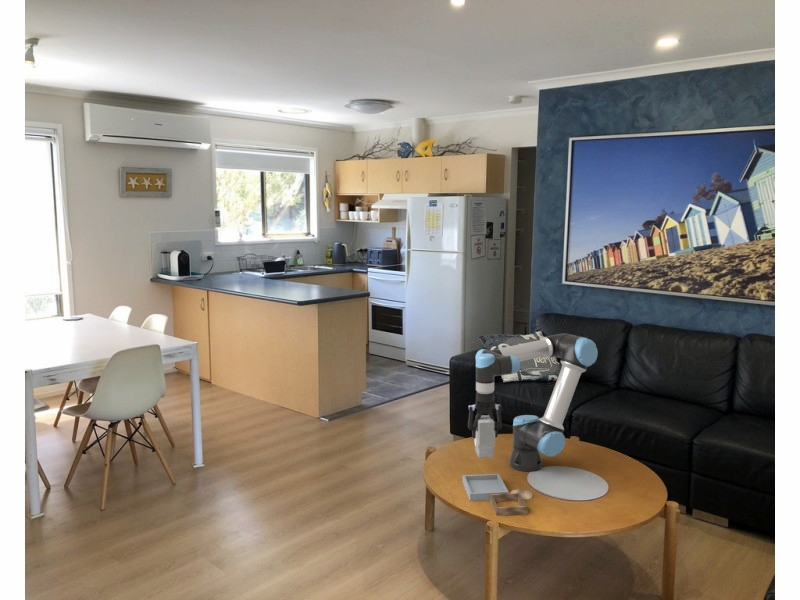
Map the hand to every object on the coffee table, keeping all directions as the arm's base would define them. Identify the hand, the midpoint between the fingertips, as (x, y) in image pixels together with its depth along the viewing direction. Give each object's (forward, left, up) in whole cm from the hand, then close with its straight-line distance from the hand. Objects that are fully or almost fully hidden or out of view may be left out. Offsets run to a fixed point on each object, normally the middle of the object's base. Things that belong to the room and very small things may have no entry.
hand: (484, 444), depth 254 cm
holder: (-6, +16, -20) cm, 26 cm away
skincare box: (0, 0, -4) cm, 4 cm away
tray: (0, 0, -20) cm, 20 cm away
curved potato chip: (-14, +6, -20) cm, 25 cm away
